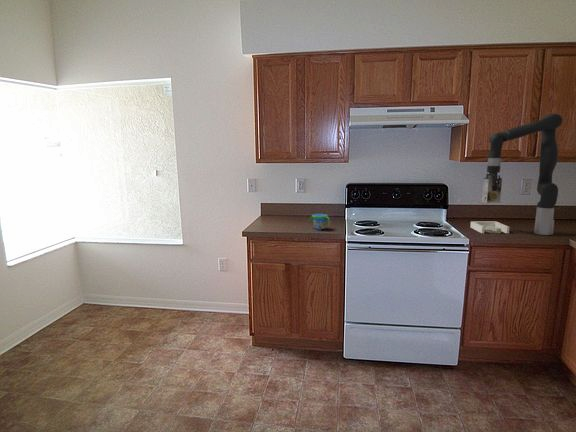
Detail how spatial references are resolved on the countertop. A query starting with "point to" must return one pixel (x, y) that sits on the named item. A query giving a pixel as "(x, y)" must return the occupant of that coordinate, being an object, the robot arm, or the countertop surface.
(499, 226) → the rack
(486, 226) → the offcut top
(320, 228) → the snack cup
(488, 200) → the coffee box
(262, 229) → the countertop surface
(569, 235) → the countertop surface
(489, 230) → the offcut middle
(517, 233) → the countertop surface
